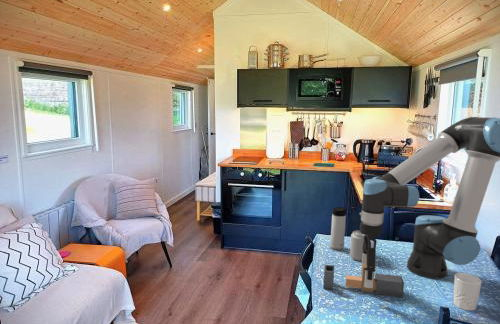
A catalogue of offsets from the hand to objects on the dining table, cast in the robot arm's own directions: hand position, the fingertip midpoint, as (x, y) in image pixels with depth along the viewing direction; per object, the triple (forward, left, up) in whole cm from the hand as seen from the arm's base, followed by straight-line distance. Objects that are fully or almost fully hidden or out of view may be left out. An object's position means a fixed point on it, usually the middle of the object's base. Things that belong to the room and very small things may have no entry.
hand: (366, 278), depth 131 cm
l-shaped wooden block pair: (-2, 0, -4) cm, 5 cm away
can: (+1, -29, -5) cm, 29 cm away
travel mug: (+10, -38, -5) cm, 40 cm away
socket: (+13, 0, -5) cm, 14 cm away
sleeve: (-8, 0, -5) cm, 9 cm away
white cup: (-32, +2, -5) cm, 33 cm away
